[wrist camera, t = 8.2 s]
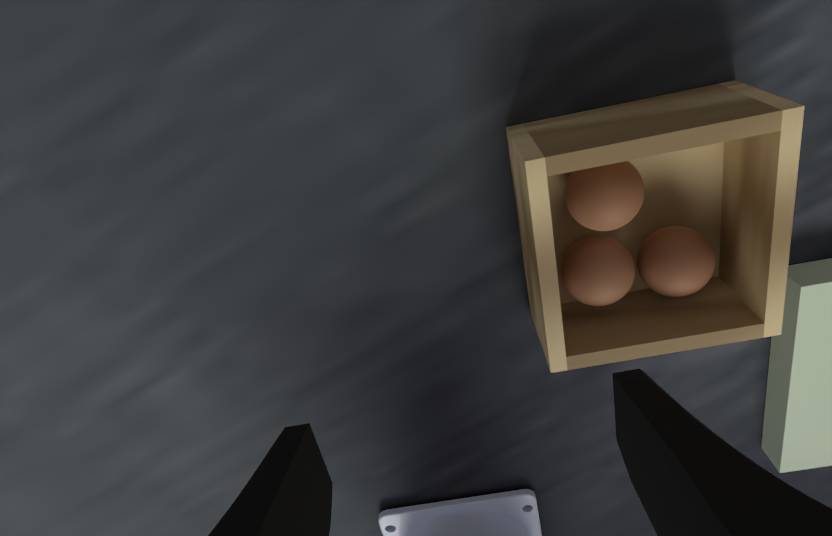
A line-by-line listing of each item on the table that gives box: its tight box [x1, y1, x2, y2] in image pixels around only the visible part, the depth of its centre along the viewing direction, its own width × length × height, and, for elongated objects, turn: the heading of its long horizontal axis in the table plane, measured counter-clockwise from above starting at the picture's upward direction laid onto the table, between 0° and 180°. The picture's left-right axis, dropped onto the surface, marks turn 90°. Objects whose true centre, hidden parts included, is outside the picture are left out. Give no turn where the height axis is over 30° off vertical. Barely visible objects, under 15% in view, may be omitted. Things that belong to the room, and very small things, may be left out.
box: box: [506, 80, 804, 373], centre depth 21 cm, size 8×8×4 cm
